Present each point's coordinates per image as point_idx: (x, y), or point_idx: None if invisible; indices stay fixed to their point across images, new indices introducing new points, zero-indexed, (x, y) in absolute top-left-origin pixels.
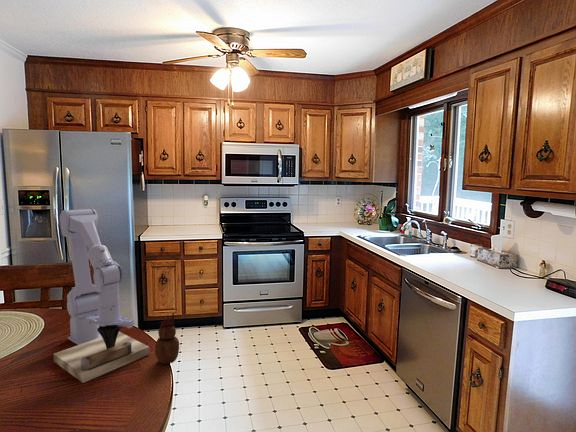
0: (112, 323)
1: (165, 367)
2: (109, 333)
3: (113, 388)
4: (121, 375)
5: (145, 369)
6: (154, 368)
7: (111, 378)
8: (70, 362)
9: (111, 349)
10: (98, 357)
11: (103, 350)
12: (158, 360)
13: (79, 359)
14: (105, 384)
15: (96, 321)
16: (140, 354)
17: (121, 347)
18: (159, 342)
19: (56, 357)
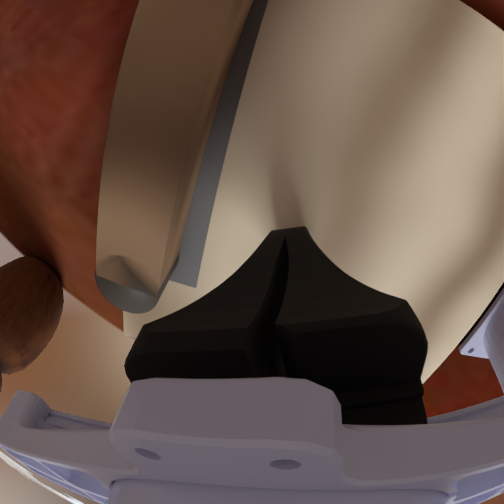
0: (83, 452)
1: (12, 240)
2: (198, 314)
3: (36, 16)
4: (80, 99)
5: (43, 196)
6: (28, 218)
7: (99, 51)
8: (432, 2)
9: (141, 168)
10: (140, 18)
11: (194, 119)
12: (36, 262)
13: (411, 51)
14: (85, 4)
15: (476, 458)
16: None
17: (105, 231)
18: None
19: None
